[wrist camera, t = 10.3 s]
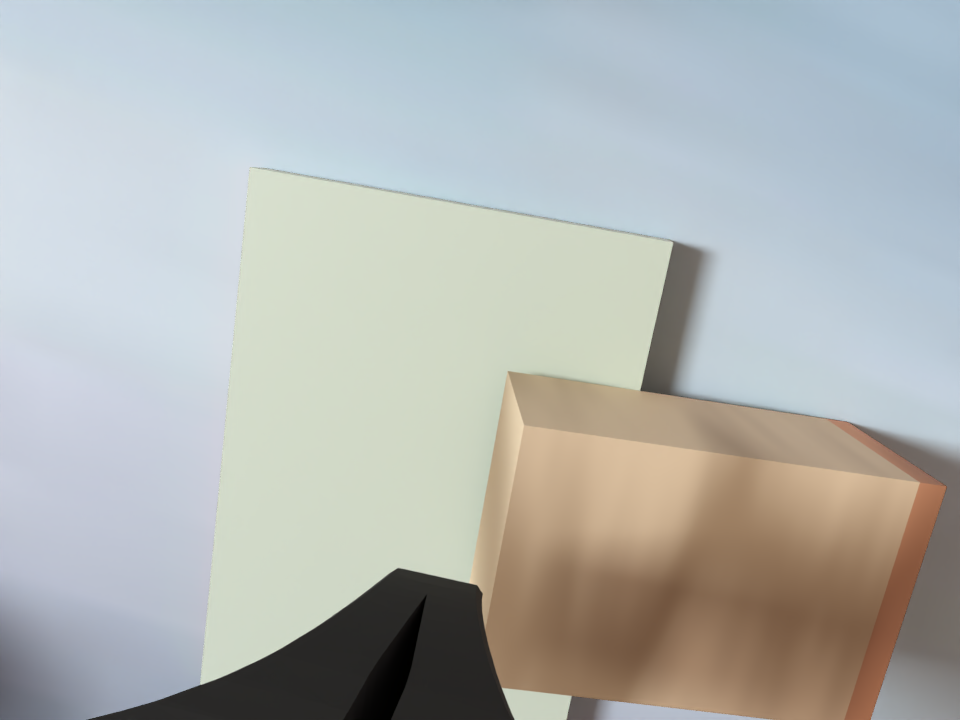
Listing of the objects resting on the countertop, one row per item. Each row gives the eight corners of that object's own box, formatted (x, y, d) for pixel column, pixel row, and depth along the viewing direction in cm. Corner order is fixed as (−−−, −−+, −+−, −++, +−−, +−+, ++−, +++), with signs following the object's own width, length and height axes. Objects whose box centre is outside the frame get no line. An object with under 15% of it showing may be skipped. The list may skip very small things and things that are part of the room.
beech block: (468, 584, 18) (788, 624, 18) (475, 684, 14) (867, 730, 15) (507, 371, 17) (847, 421, 17) (523, 424, 13) (947, 486, 14)
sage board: (554, 754, 20) (553, 777, 19) (213, 674, 21) (199, 693, 20) (668, 239, 17) (673, 242, 16) (264, 167, 18) (249, 167, 17)
